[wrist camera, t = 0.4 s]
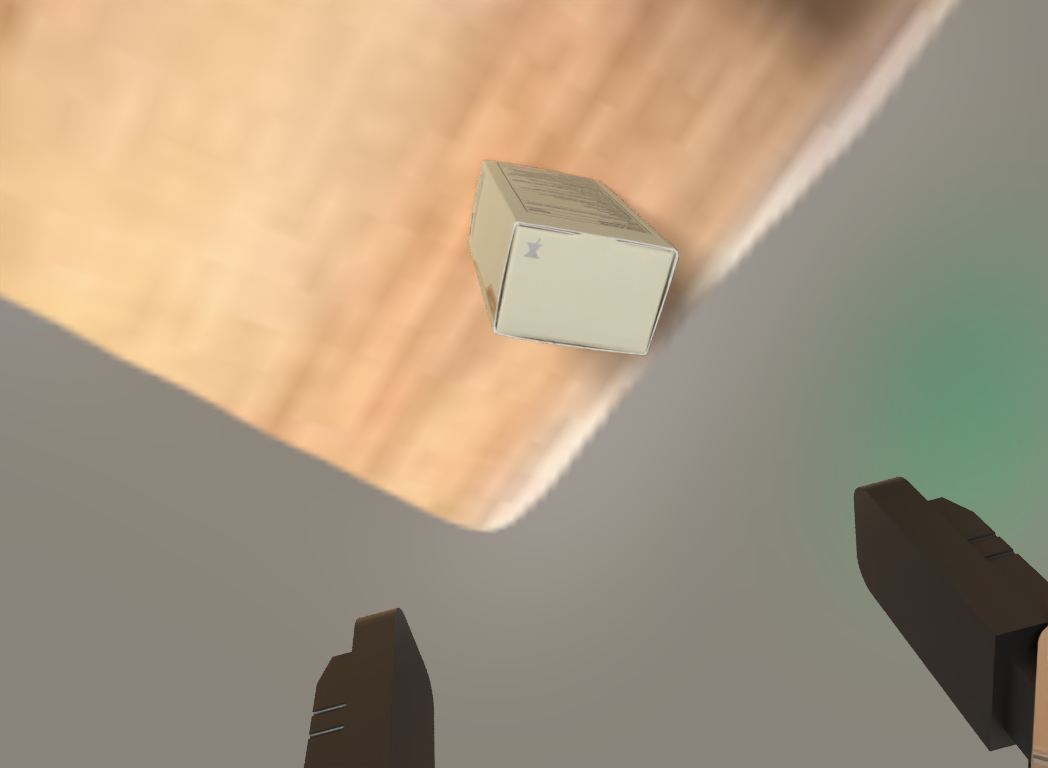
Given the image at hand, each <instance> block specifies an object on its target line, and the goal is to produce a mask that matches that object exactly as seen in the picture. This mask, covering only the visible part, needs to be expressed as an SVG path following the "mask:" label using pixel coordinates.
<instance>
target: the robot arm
mask: <svg viewBox="0 0 1048 768" xmlns="http://www.w3.org/2000/svg"><path fill="white" fill-rule="evenodd" d="M854 510H855V528H856V545H857V559H858V564H859V568H860V571H861V574H862V577H863V579H864V581H865V583H866V585H867V587H868V589H869V591H870V592H871V593H872V595H873V596H874V598H875V599H876V600H877V602H878V603H879V604H880V606H881V607H882V608H883V610H884V611H885V612H886V613H887V615H888V616H889V618H890V619H891V620H892V622H893V623H894V624H895V626H896V627H897V628H898V630H899V631H900V632H901V634H902V635H903V636H904V638H905V639H906V640H907V641H908V643H909V644H910V645H911V647H912V648H913V649H914V651H915V652H916V654H917V655H918V656H919V658H920V659H921V660H922V661H923V663H924V664H925V666H926V667H927V668H928V670H929V671H930V672H931V674H932V675H933V676H934V678H935V679H936V680H937V681H938V683H939V684H940V686H941V687H942V688H943V690H944V691H945V692H946V694H947V695H948V696H949V698H950V699H951V700H952V702H953V703H954V704H955V706H956V707H957V708H958V710H959V711H960V712H961V714H962V715H963V716H964V718H965V719H966V720H967V722H968V723H969V724H970V726H971V727H972V728H973V730H974V731H975V732H976V733H977V735H978V736H979V738H980V739H981V740H982V742H983V743H984V744H985V746H986V747H987V748H988V750H989V751H993V750H997V749H1000V748H1004V747H1008V746H1012V745H1015V744H1016V745H1017V746H1018V747H1019V749H1020V750H1021V751H1022V752H1023V754H1024V755H1025V756H1026V757H1027V759H1028V768H1048V582H1047V581H1046V580H1045V579H1044V578H1043V577H1042V576H1041V575H1040V574H1039V573H1038V572H1037V571H1036V570H1035V569H1033V568H1032V567H1031V566H1030V565H1029V564H1028V563H1027V562H1026V561H1025V560H1024V559H1023V558H1022V557H1021V556H1020V555H1019V554H1015V553H1014V552H1013V549H1012V548H1011V547H1010V546H1009V545H1008V544H1007V543H1006V542H1005V541H1004V540H1003V539H1001V538H1000V537H997V536H996V535H995V532H994V531H993V530H992V529H991V528H990V527H989V526H988V525H987V524H985V523H984V522H983V521H982V520H981V519H980V518H979V517H978V516H977V515H976V514H975V513H974V512H972V511H970V510H968V509H966V508H964V507H962V506H959V505H957V504H955V503H953V502H951V501H949V500H947V499H945V498H943V497H941V498H938V499H934V500H930V501H927V500H926V499H925V498H924V497H923V496H922V495H921V494H920V493H919V492H918V491H917V490H916V489H915V488H914V487H913V486H912V485H911V484H910V483H909V482H908V481H907V480H906V479H904V478H903V477H896V478H892V479H888V480H885V481H881V482H878V483H873V484H869V485H866V486H862V487H858V488H857V489H856V490H855V493H854ZM313 713H314V716H312V719H311V726H310V732H309V734H310V739H308V745H307V752H306V758H305V764H304V768H435V760H434V704H433V695H432V689H431V684H430V680H429V676H428V673H427V670H426V667H425V665H424V662H423V660H422V657H421V655H420V652H419V650H418V647H417V645H416V642H415V640H414V638H413V635H412V633H411V630H410V628H409V625H408V623H407V620H406V618H405V616H404V613H403V612H402V610H401V609H400V608H396V609H392V610H388V611H384V612H380V613H377V614H373V615H369V616H366V617H362V618H358V619H357V620H356V623H355V628H354V638H353V647H352V652H350V653H346V654H342V655H339V656H335V657H332V659H331V661H330V662H329V664H328V666H327V667H326V669H325V671H324V673H323V674H322V676H321V678H320V680H319V681H318V683H317V687H316V693H315V700H314V707H313Z"/></svg>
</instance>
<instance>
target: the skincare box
mask: <svg viewBox="0 0 1048 768" xmlns="http://www.w3.org/2000/svg"><path fill="white" fill-rule="evenodd" d="M468 244H469V248H470V251H471V255H472V259H473V262H474V266H475V269H476V273H477V276H478V281H479V284H480V287H481V291H482V295H483V298H484V302H485V305H486V309H487V312H488V316H489V319H490V322H491V326H492V329H493V332H494V333H495V334H498V335H503V336H508V337H512V338H518V339H523V340H529V341H534V342H540V343H547V344H554V345H561V346H568V347H575V348H583V349H591V350H599V351H607V352H617V353H626V354H636V355H646V354H647V353H648V351H649V347H650V344H651V341H652V338H653V335H654V333H655V330H656V327H657V323H658V320H659V318H660V315H661V312H662V309H663V306H664V302H665V299H666V296H667V293H668V290H669V287H670V284H671V281H672V278H673V274H674V271H675V268H676V265H677V261H678V258H679V253H678V251H677V250H676V249H675V248H674V247H673V246H672V245H671V244H670V243H669V242H667V241H666V240H665V239H664V238H663V237H662V236H661V235H660V234H658V233H657V232H656V231H655V230H654V229H653V228H652V227H651V226H650V225H648V224H647V223H646V222H645V221H644V220H643V219H642V218H641V217H640V216H639V215H637V214H636V213H635V212H634V211H633V210H632V209H631V208H630V207H628V206H627V205H626V204H625V203H624V202H623V201H622V200H621V199H620V198H618V197H617V196H616V195H615V194H614V193H613V192H612V191H611V190H610V189H609V188H607V187H606V186H605V185H604V184H603V183H602V182H601V181H597V180H593V179H589V178H585V177H580V176H575V175H570V174H566V173H561V172H556V171H551V170H545V169H540V168H535V167H529V166H523V165H517V164H511V163H505V162H498V161H492V160H484V161H483V162H482V167H481V171H480V176H479V180H478V185H477V190H476V194H475V199H474V205H473V210H472V216H471V222H470V228H469V236H468Z"/></svg>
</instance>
